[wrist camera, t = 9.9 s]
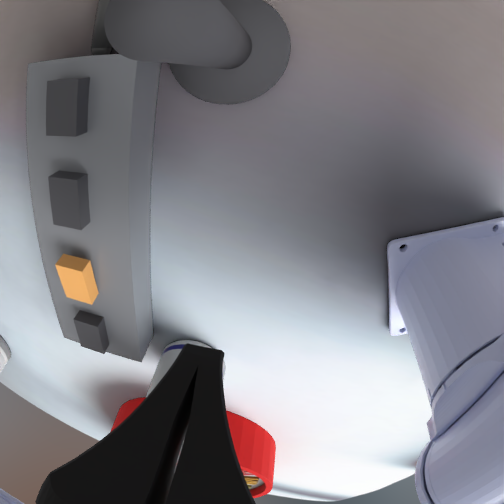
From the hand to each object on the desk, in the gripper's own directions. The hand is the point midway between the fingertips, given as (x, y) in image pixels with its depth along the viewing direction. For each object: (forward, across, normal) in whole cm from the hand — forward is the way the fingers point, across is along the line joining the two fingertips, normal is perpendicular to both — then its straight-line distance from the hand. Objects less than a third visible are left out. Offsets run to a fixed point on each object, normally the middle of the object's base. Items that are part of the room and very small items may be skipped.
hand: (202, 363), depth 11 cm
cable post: (+9, +2, -11) cm, 14 cm away
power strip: (+9, +9, -4) cm, 13 cm away
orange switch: (+6, +9, +2) cm, 11 cm away
